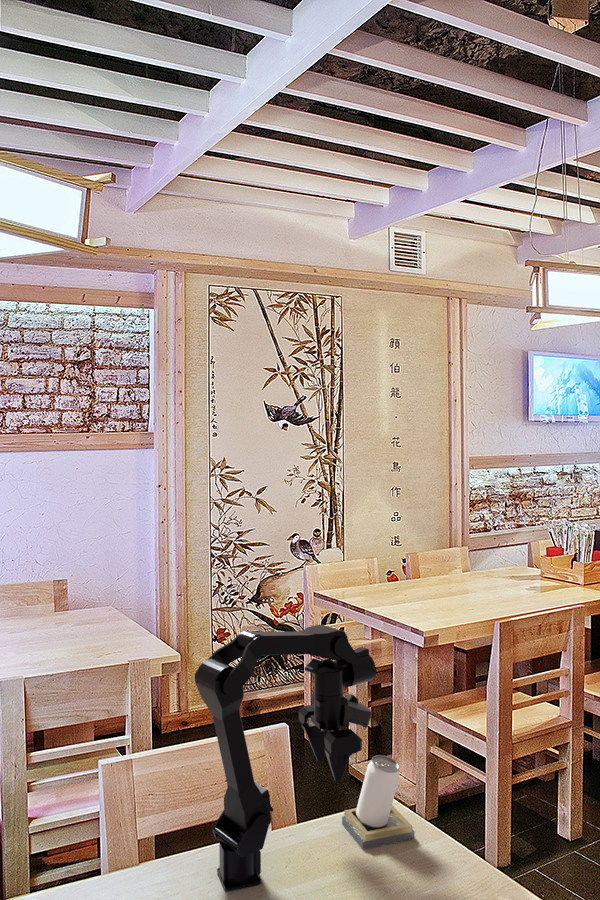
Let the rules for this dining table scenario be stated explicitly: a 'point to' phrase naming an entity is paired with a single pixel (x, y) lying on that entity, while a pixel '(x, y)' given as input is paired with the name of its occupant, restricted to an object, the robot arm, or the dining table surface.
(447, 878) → the dining table surface
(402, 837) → the gold square coaster
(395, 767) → the can
